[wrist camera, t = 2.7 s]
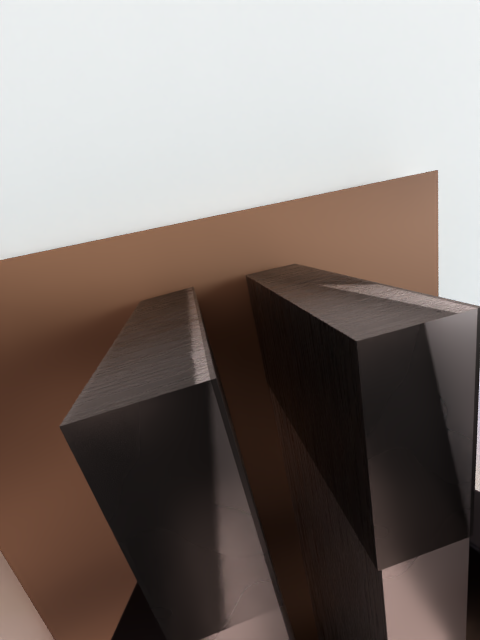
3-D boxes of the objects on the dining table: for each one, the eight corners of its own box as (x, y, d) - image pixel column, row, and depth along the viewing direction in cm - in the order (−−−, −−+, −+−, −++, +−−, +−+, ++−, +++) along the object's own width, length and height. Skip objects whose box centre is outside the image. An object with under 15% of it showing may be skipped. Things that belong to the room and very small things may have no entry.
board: (421, 635, 16) (440, 666, 14) (150, 747, 14) (147, 792, 13) (405, 178, 9) (437, 169, 8) (-105, 284, 7) (-157, 292, 6)
